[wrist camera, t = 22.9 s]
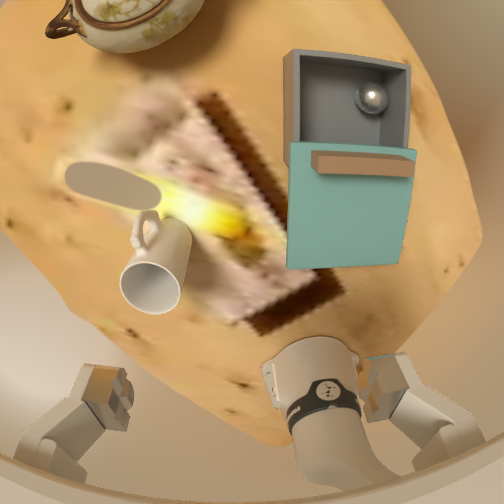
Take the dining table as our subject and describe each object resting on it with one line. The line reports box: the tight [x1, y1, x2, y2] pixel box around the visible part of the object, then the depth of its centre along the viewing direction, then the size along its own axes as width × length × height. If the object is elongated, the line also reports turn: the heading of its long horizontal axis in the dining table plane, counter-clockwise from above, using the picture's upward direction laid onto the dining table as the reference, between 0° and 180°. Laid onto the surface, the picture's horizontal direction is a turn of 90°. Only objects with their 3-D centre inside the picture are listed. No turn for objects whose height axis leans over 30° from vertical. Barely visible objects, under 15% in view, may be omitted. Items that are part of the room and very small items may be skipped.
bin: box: [283, 49, 411, 168], centre depth 31 cm, size 13×13×7 cm
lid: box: [286, 141, 417, 270], centre depth 30 cm, size 14×14×4 cm
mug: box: [120, 210, 192, 315], centre depth 35 cm, size 10×7×12 cm, turn 11°
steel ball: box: [355, 82, 388, 114], centre depth 31 cm, size 4×4×4 cm
